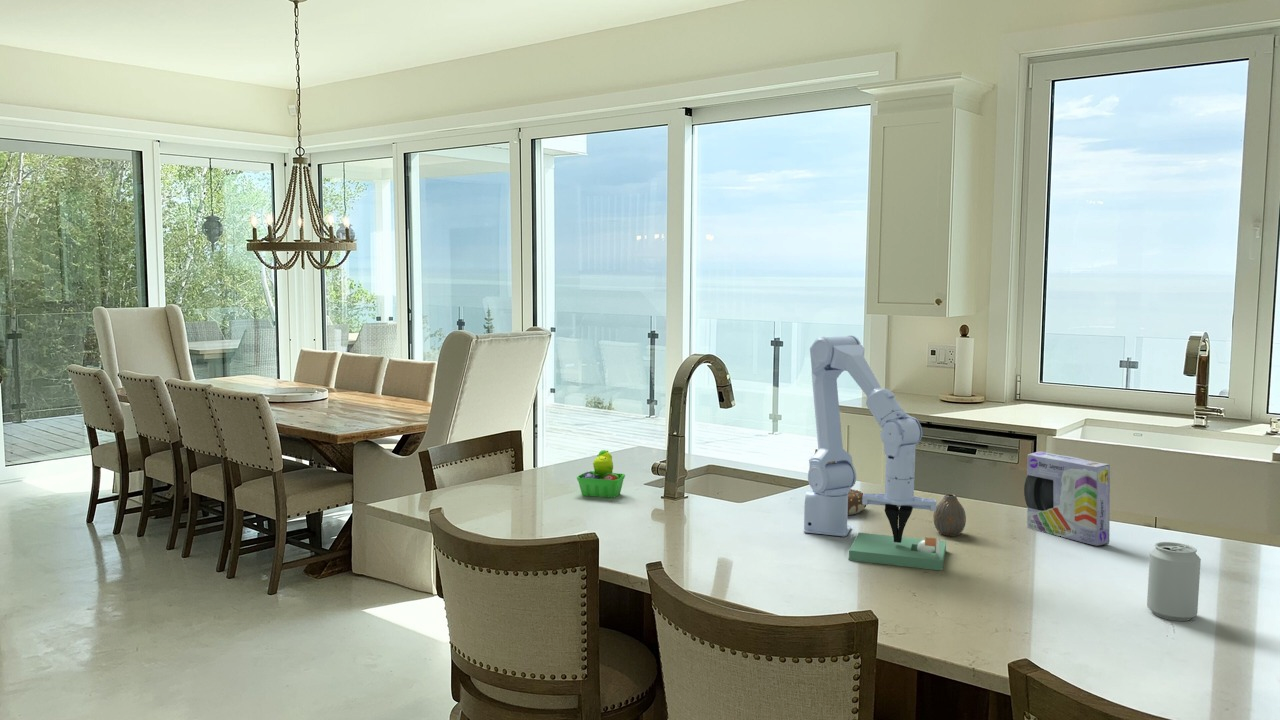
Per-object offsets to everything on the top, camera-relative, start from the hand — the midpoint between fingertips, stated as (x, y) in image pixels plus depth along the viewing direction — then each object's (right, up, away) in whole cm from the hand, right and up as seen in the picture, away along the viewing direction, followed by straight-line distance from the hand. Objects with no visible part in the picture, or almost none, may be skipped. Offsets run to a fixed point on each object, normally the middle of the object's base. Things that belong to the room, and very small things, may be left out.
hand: (897, 541), depth 191 cm
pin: (+4, -4, -8) cm, 10 cm away
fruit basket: (-63, +2, +52) cm, 82 cm away
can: (+38, -6, -32) cm, 50 cm away
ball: (+7, -2, -2) cm, 7 cm away
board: (0, -3, 0) cm, 3 cm away
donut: (-4, 0, +37) cm, 38 cm away
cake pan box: (+41, -2, +15) cm, 44 cm away
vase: (+16, -2, +16) cm, 23 cm away
